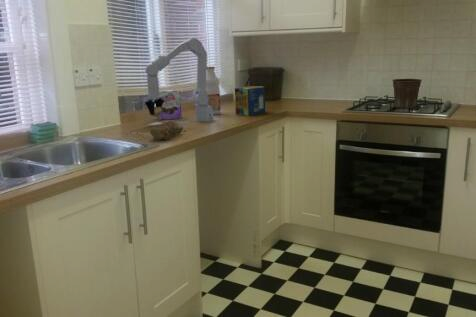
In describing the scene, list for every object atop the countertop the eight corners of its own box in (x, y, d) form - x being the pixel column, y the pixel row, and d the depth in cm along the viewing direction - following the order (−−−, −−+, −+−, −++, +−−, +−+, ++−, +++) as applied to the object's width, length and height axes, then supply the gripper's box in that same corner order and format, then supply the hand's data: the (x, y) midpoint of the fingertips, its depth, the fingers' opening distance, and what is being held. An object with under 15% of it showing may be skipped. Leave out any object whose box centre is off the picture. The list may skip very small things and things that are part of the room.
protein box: (235, 114, 264) (234, 88, 261) (253, 111, 275) (252, 85, 271) (248, 116, 257) (247, 88, 254) (266, 112, 268) (265, 86, 264)
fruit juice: (202, 113, 273) (199, 67, 266) (215, 112, 278) (213, 66, 271) (210, 115, 265) (207, 67, 258) (223, 113, 270) (221, 66, 263)
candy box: (157, 121, 253) (155, 91, 249) (156, 119, 258) (154, 90, 254) (182, 119, 256) (180, 90, 252) (180, 117, 262) (178, 89, 258)
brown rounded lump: (167, 135, 217) (138, 134, 199) (170, 119, 215) (141, 117, 198) (188, 142, 210) (160, 142, 193) (191, 126, 209) (164, 124, 192)
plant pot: (424, 108, 256) (426, 80, 252) (396, 109, 256) (397, 81, 252) (414, 105, 272) (415, 78, 268) (387, 106, 272) (388, 79, 268)
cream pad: (164, 123, 238) (164, 122, 238) (156, 125, 233) (156, 124, 233) (156, 122, 241) (156, 122, 241) (148, 124, 236) (148, 124, 236)
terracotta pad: (174, 121, 244) (174, 120, 244) (167, 122, 240) (167, 122, 240) (166, 120, 248) (166, 120, 248) (158, 122, 243) (158, 121, 243)
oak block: (161, 115, 237) (161, 107, 236) (155, 116, 233) (155, 108, 232) (155, 115, 239) (154, 106, 238) (149, 116, 236) (148, 107, 235)
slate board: (191, 123, 241) (191, 121, 241) (168, 128, 226) (168, 127, 226) (168, 121, 250) (168, 120, 249) (145, 126, 235) (145, 125, 235)
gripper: (157, 86, 241) (159, 111, 244) (137, 89, 229) (140, 115, 232) (167, 86, 237) (169, 112, 240) (147, 89, 225) (150, 116, 228)
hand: (155, 114), depth 236 cm, fingers closed on oak block, 4 cm apart
